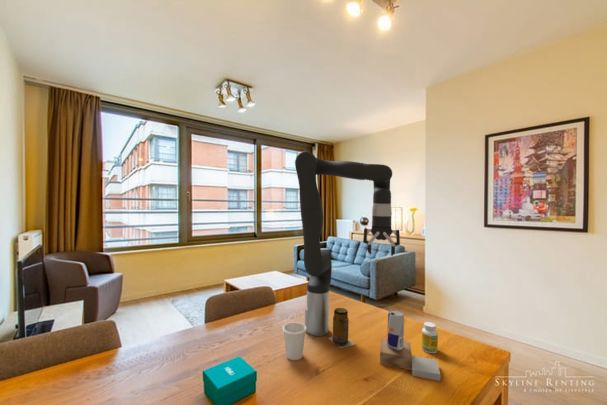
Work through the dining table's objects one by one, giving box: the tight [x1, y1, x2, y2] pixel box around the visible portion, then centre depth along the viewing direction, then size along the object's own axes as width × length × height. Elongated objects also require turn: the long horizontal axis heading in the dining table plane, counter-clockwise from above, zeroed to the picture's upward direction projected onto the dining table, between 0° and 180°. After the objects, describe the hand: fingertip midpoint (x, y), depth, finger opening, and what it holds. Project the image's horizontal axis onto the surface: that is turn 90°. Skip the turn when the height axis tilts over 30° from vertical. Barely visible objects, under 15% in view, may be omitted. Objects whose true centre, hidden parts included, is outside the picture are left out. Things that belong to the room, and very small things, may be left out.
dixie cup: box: [282, 321, 307, 361], centre depth 97 cm, size 8×8×10 cm
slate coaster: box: [411, 355, 441, 382], centre depth 89 cm, size 8×8×2 cm
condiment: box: [327, 307, 356, 349], centre depth 107 cm, size 7×8×12 cm
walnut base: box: [379, 337, 413, 371], centre depth 96 cm, size 10×10×4 cm
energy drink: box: [386, 309, 405, 351], centre depth 96 cm, size 5×5×12 cm
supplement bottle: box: [421, 321, 439, 354], centre depth 101 cm, size 5×5×10 cm
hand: (381, 254), depth 111 cm, fingers open, 8 cm apart
